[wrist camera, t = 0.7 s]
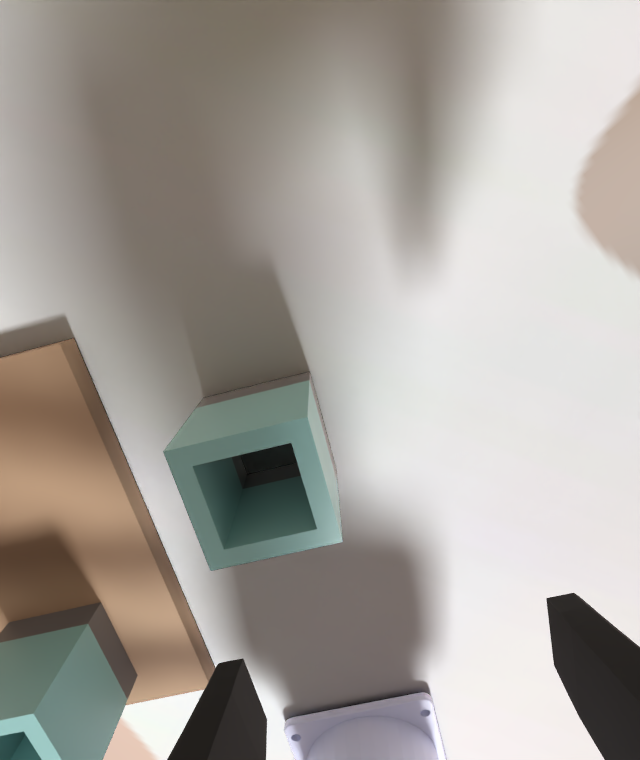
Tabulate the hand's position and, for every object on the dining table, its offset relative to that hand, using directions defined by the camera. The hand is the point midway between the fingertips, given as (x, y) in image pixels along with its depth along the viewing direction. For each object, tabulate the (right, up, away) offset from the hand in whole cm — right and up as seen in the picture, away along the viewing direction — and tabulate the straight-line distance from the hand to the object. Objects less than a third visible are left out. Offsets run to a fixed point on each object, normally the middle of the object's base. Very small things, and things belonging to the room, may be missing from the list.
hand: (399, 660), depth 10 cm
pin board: (-15, -1, +10) cm, 18 cm away
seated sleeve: (-14, -6, +11) cm, 18 cm away
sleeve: (-4, +4, +9) cm, 10 cm away
